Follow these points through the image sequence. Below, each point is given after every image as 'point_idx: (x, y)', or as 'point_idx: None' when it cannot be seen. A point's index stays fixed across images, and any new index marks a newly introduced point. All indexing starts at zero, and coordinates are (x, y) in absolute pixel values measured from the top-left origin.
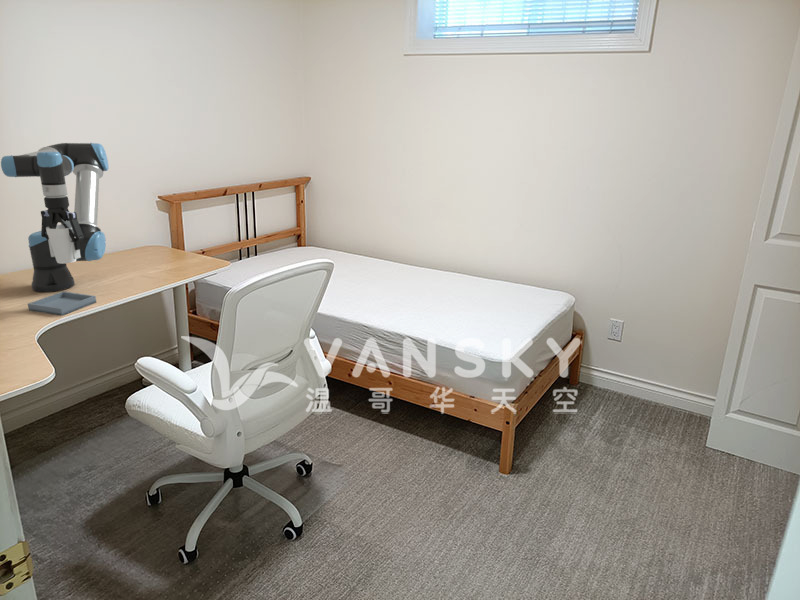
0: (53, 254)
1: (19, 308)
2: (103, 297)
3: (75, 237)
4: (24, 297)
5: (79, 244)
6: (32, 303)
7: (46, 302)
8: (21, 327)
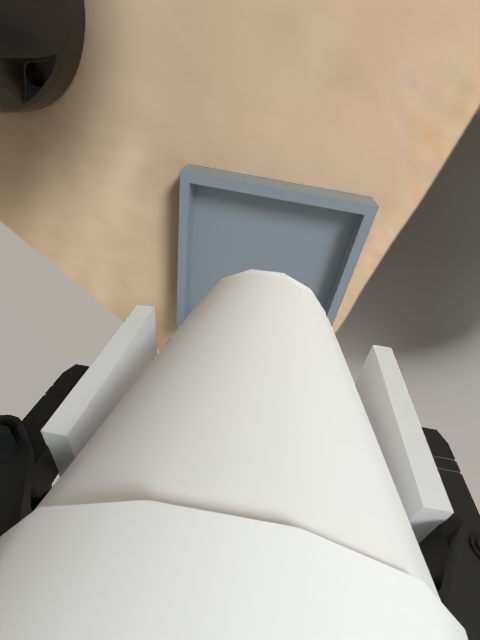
0: (150, 357)
1: (139, 300)
2: (373, 112)
3: (408, 525)
4: (39, 195)
5: (461, 486)
6: (184, 317)
7: (190, 262)
8: None
